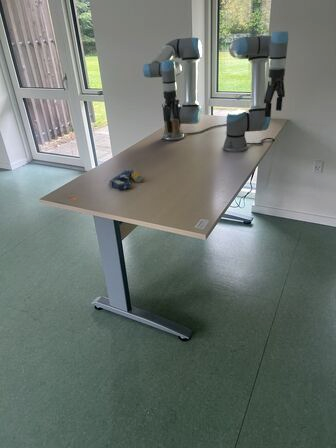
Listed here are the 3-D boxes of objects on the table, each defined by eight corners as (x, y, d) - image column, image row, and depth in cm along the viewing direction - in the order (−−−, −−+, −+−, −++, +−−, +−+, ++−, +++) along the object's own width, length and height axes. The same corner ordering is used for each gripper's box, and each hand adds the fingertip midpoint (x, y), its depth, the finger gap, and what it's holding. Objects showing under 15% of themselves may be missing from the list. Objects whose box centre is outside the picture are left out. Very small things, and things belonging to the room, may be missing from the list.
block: (171, 131, 207) (170, 118, 203) (179, 132, 204) (178, 119, 199) (166, 133, 204) (164, 120, 200) (174, 135, 200) (173, 121, 196)
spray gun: (148, 176, 189) (126, 173, 196) (147, 169, 187) (125, 167, 194) (129, 192, 174) (105, 189, 180) (127, 185, 172) (104, 182, 178)
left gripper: (174, 87, 199) (176, 126, 211) (154, 93, 187) (158, 134, 199) (184, 87, 195) (186, 127, 207) (165, 94, 183) (168, 135, 195)
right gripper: (279, 64, 171) (276, 107, 182) (258, 72, 154) (255, 118, 165) (294, 64, 166) (289, 108, 177) (273, 72, 150) (270, 120, 161)
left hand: (172, 130), depth 203 cm, fingers closed on block, 5 cm apart
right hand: (273, 113), depth 171 cm, fingers open, 13 cm apart
